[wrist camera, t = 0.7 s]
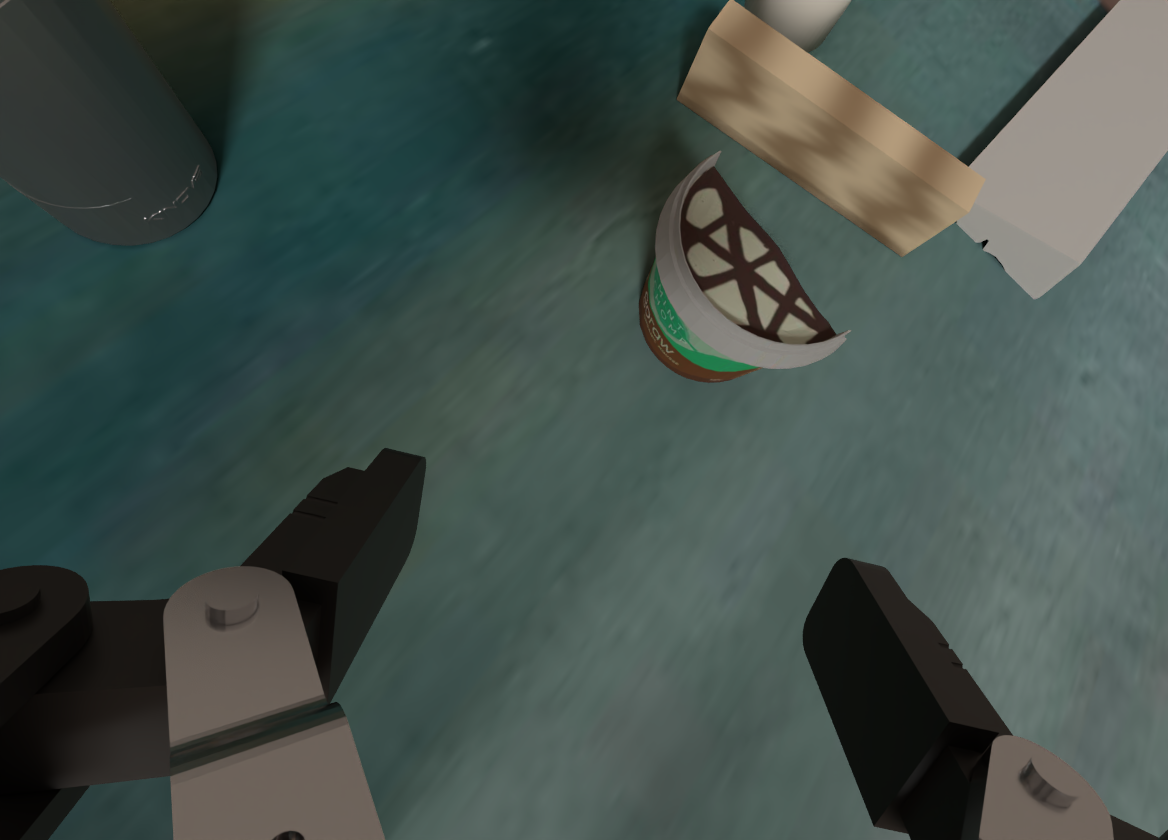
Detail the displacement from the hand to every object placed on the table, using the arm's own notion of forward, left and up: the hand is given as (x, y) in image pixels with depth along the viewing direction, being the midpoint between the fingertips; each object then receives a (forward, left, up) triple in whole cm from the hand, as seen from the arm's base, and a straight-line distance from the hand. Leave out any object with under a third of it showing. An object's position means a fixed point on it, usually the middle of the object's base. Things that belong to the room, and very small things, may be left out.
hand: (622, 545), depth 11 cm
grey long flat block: (+21, +53, -24) cm, 62 cm away
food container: (+1, +16, -24) cm, 29 cm away
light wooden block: (+2, +33, -23) cm, 40 cm away
